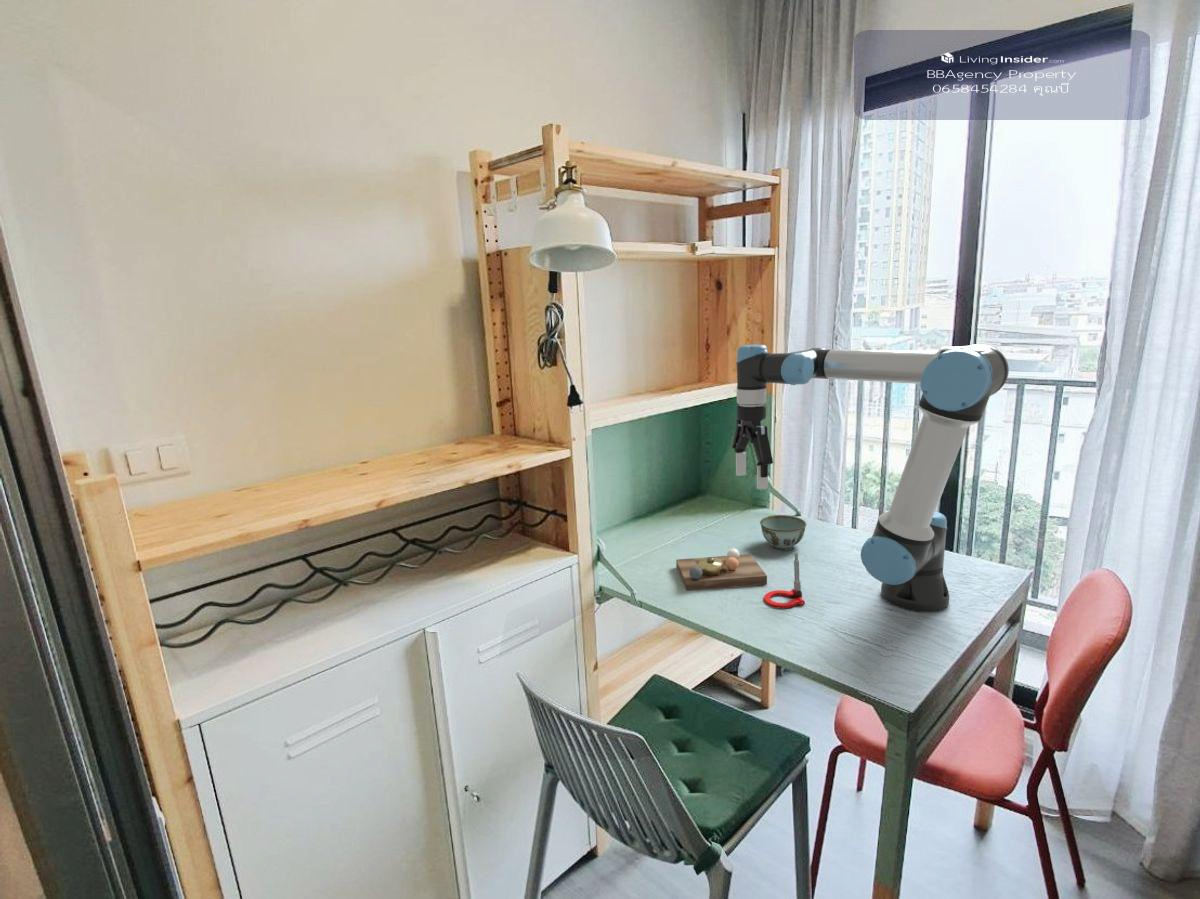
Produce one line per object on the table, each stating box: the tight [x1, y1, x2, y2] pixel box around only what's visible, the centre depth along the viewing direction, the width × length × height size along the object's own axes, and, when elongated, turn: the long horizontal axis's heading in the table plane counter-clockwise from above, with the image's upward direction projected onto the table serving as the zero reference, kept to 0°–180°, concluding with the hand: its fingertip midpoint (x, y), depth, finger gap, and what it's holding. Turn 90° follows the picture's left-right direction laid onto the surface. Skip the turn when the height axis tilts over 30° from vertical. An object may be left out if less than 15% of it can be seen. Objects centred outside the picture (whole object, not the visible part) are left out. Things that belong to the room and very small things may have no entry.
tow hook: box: [763, 552, 806, 609], centre depth 152 cm, size 8×13×9 cm
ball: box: [726, 557, 739, 570], centre depth 167 cm, size 4×4×4 cm
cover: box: [699, 556, 723, 575], centre depth 167 cm, size 6×6×4 cm
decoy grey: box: [689, 566, 702, 579], centre depth 163 cm, size 4×4×4 cm
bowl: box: [759, 514, 807, 551], centre depth 186 cm, size 14×14×8 cm
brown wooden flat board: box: [675, 553, 768, 591], centre depth 169 cm, size 15×22×2 cm
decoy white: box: [726, 547, 741, 560], centre depth 173 cm, size 4×4×4 cm
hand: (751, 481), depth 164 cm, fingers open, 13 cm apart
